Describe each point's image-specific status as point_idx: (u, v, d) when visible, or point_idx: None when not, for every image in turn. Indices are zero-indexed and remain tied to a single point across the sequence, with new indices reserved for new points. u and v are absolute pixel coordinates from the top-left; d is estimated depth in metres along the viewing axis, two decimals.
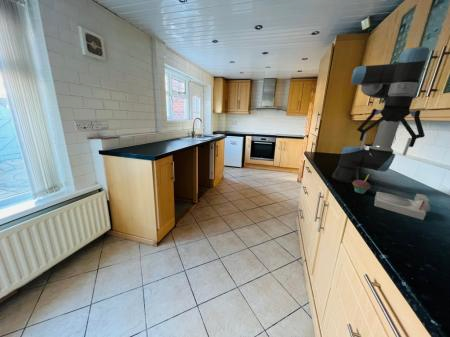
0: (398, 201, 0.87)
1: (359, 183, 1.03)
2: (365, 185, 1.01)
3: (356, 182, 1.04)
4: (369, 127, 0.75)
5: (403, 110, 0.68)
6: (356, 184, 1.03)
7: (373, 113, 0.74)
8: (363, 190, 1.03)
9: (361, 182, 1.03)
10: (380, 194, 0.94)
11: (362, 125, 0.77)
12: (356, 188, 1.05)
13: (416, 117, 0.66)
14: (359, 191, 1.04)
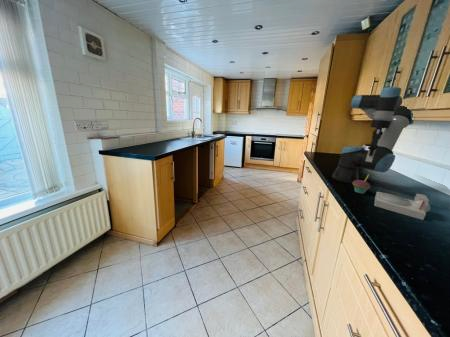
0: (398, 201, 0.87)
1: (359, 183, 1.03)
2: (365, 185, 1.01)
3: (356, 182, 1.04)
4: None
5: None
6: (356, 184, 1.03)
7: None
8: (363, 190, 1.03)
9: (361, 182, 1.03)
10: (380, 194, 0.94)
11: None
12: (356, 188, 1.05)
13: (374, 134, 0.92)
14: (359, 191, 1.04)
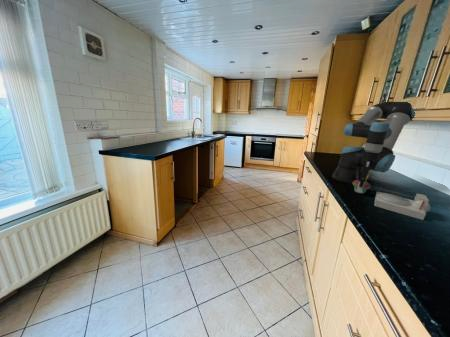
0: (398, 201, 0.87)
1: None
2: (365, 185, 1.01)
3: (356, 182, 1.04)
4: None
5: (366, 160, 0.99)
6: (356, 184, 1.03)
7: None
8: (363, 190, 1.03)
9: None
10: (380, 194, 0.94)
11: None
12: (356, 188, 1.05)
13: (363, 167, 0.98)
14: None
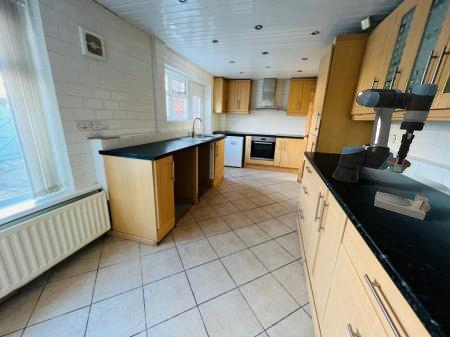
0: (398, 201, 0.87)
1: None
2: (404, 162, 0.84)
3: (392, 160, 0.87)
4: (399, 149, 0.90)
5: (406, 132, 0.83)
6: (393, 162, 0.87)
7: None
8: (401, 169, 0.86)
9: None
10: (380, 194, 0.94)
11: (399, 148, 0.92)
12: (392, 167, 0.88)
13: (404, 139, 0.81)
14: None
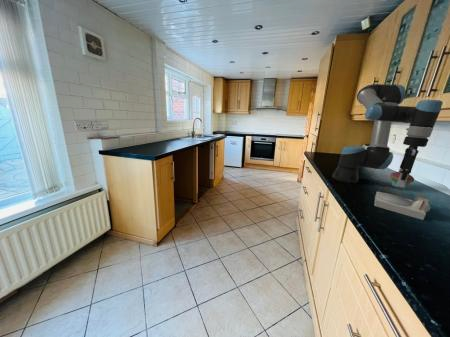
0: (398, 201, 0.87)
1: None
2: (407, 178, 0.84)
3: (396, 174, 0.87)
4: (402, 163, 0.90)
5: (410, 147, 0.82)
6: (396, 177, 0.86)
7: None
8: (405, 184, 0.85)
9: None
10: (380, 194, 0.94)
11: None
12: (395, 182, 0.87)
13: (408, 155, 0.80)
14: None
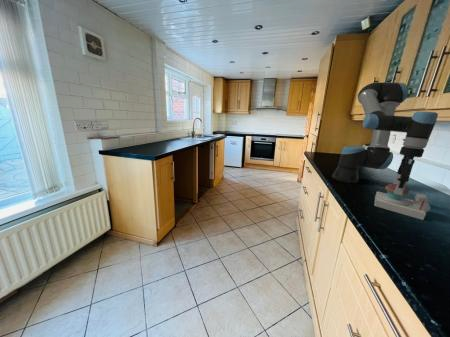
0: (398, 201, 0.87)
1: None
2: None
3: (391, 187, 0.88)
4: (399, 169, 0.92)
5: (406, 158, 0.84)
6: (391, 189, 0.88)
7: (403, 158, 0.90)
8: (400, 196, 0.87)
9: None
10: (380, 194, 0.94)
11: (399, 167, 0.94)
12: (391, 194, 0.89)
13: (405, 164, 0.81)
14: (395, 197, 0.88)
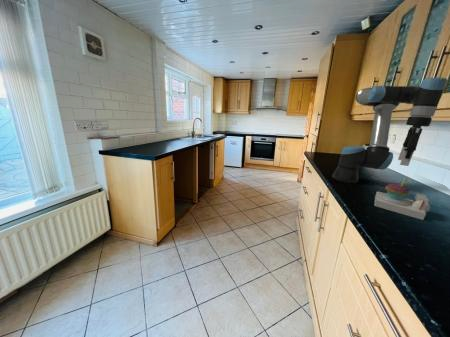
0: (398, 201, 0.87)
1: (395, 188, 0.87)
2: (402, 190, 0.85)
3: (391, 187, 0.89)
4: (405, 142, 0.90)
5: (413, 128, 0.81)
6: (391, 189, 0.88)
7: None
8: (400, 196, 0.87)
9: (397, 187, 0.87)
10: (380, 194, 0.94)
11: None
12: (391, 194, 0.89)
13: (412, 133, 0.79)
14: (395, 197, 0.88)
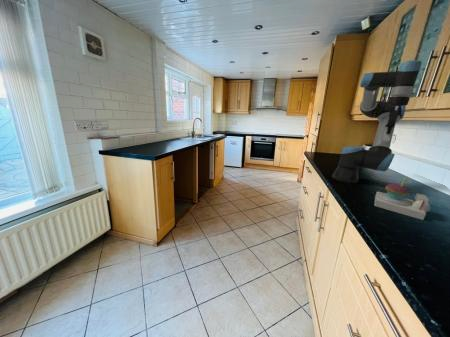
0: (398, 201, 0.87)
1: (395, 188, 0.87)
2: (402, 190, 0.85)
3: (391, 187, 0.89)
4: (388, 122, 0.99)
5: None
6: (391, 189, 0.88)
7: None
8: (400, 196, 0.87)
9: (397, 187, 0.87)
10: (380, 194, 0.94)
11: (388, 121, 1.01)
12: (391, 194, 0.89)
13: (392, 111, 0.88)
14: (395, 197, 0.88)
